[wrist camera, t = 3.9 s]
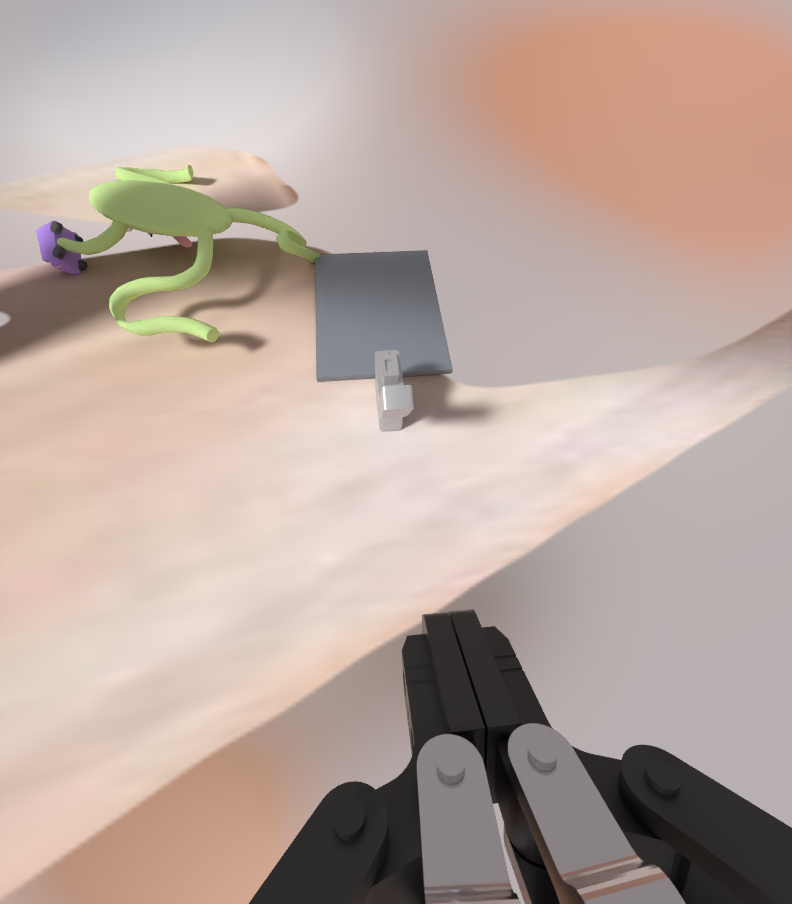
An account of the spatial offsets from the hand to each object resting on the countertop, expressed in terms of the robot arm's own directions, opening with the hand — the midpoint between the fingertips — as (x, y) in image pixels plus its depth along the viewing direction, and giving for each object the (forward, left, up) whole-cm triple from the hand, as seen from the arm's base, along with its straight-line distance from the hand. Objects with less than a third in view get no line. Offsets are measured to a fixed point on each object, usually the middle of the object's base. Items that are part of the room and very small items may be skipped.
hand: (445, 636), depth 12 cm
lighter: (0, +16, -14) cm, 21 cm away
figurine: (-18, +36, -14) cm, 42 cm away
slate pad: (0, +28, -13) cm, 31 cm away
